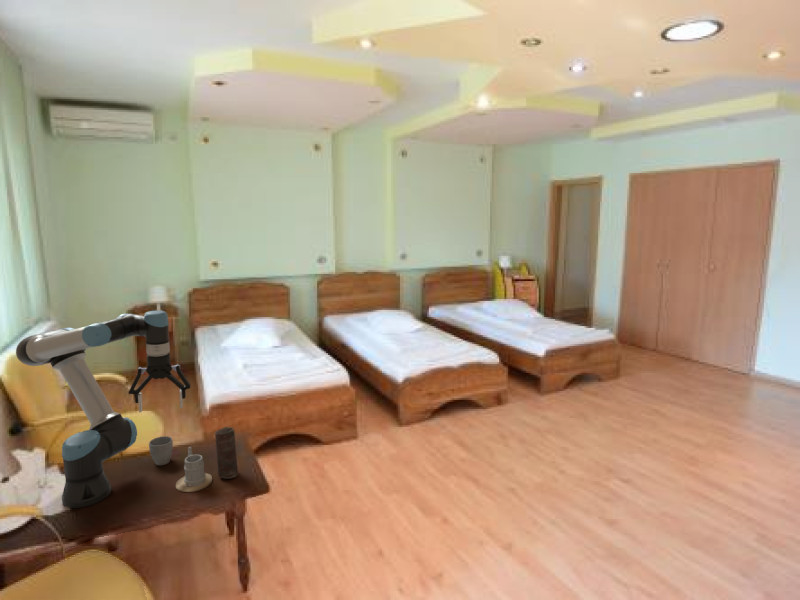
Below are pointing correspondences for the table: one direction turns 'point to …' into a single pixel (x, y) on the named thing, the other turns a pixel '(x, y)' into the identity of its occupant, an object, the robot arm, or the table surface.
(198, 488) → the coaster
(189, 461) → the mug
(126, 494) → the table surface
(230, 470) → the candle
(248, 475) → the table surface
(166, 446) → the mug
